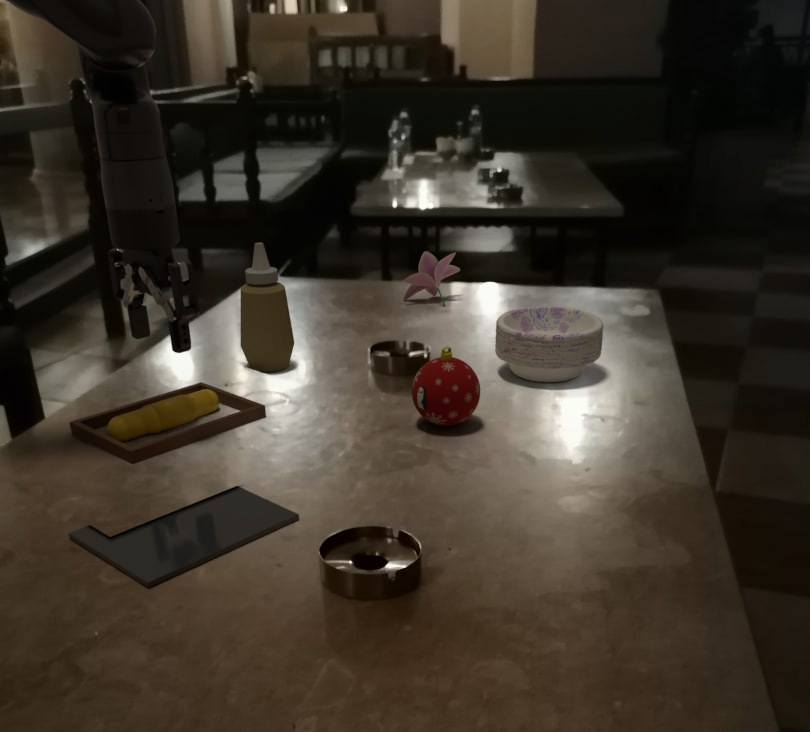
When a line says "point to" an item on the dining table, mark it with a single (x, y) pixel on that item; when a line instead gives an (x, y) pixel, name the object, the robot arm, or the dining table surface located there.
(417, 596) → the dining table surface
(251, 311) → the squeeze bottle
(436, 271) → the lily
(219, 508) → the board
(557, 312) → the paper bowls
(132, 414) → the yellow segmented rod
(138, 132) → the robot arm
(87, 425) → the tray
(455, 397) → the christmas ornament
